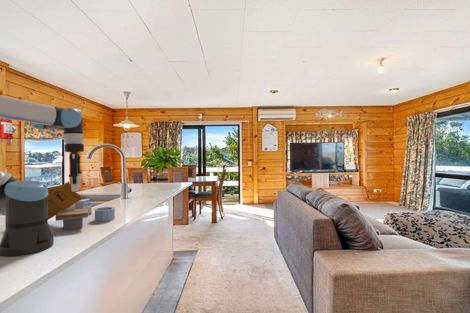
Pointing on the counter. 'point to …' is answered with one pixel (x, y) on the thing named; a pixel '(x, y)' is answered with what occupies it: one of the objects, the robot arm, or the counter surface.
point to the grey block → (72, 223)
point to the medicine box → (84, 205)
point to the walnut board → (72, 214)
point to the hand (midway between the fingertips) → (76, 189)
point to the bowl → (104, 214)
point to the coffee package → (61, 199)
